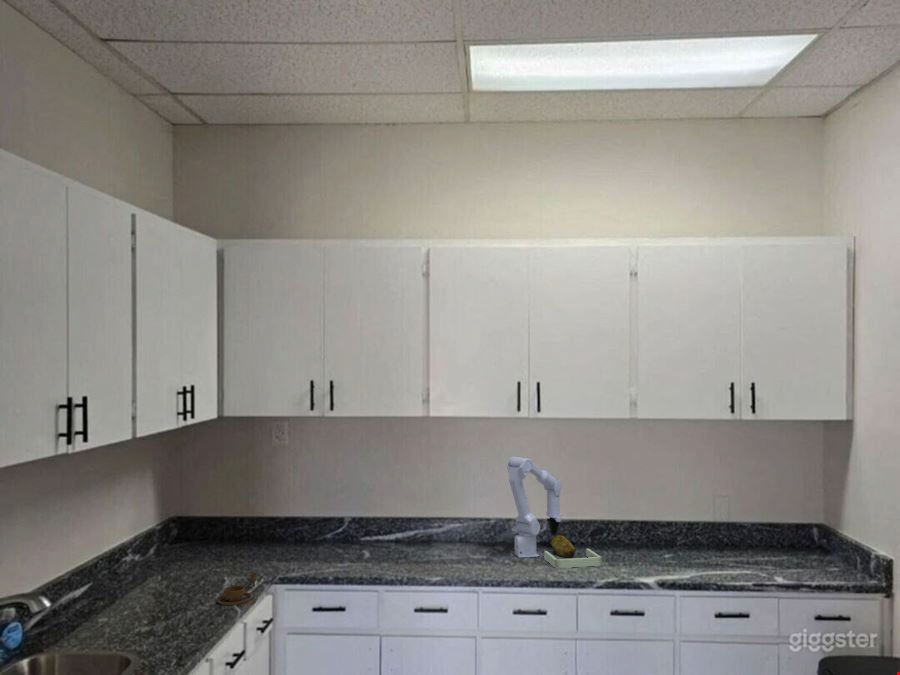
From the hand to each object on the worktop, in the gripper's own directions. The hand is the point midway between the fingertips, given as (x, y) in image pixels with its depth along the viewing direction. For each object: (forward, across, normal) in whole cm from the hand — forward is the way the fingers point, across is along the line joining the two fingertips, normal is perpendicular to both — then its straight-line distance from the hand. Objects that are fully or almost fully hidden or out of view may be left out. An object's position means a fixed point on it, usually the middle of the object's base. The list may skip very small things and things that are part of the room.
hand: (553, 534), depth 321 cm
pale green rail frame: (+6, -24, 0) cm, 25 cm away
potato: (+6, -12, 0) cm, 14 cm away
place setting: (+6, -44, +134) cm, 141 cm away
